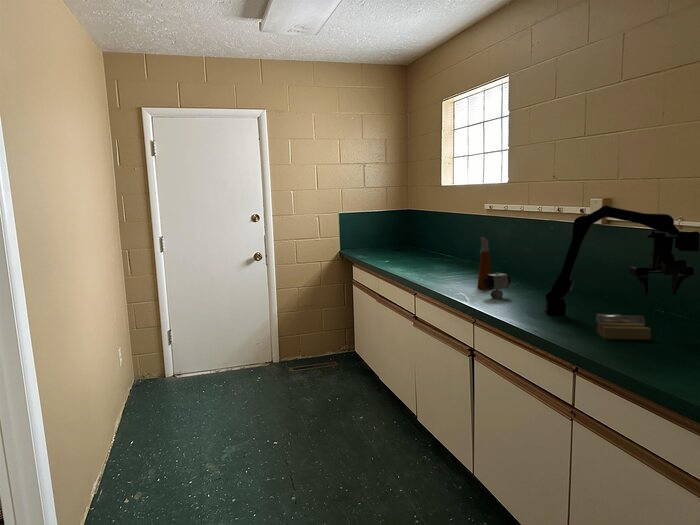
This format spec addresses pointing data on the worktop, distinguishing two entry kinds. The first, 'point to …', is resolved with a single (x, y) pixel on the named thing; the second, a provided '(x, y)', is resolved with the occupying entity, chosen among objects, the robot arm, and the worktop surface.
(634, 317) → the axle
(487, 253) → the spray bottle
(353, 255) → the worktop surface
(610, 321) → the bore beam
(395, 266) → the worktop surface
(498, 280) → the pneumatic valve
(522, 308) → the worktop surface
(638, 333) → the v block
